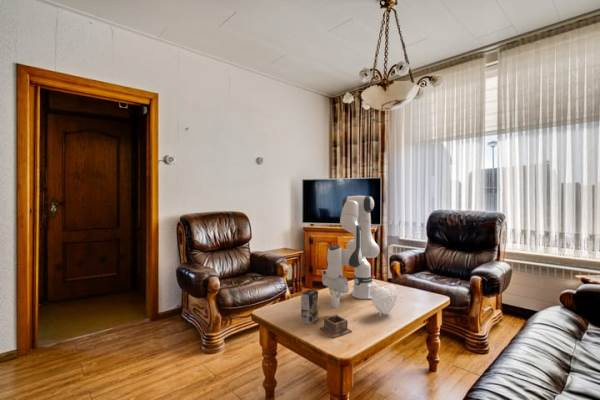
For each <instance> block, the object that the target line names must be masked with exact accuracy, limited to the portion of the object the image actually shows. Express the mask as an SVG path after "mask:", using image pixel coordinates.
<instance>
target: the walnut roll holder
mask: <svg viewBox="0 0 600 400" xmlns="http://www.w3.org/2000/svg"><path fill="white" fill-rule="evenodd" d="M319 330H320V331H322V332H323V333H325V334H327V335H328V336H330V337H331V338H332V339H336V338H340V337H342V336H345V335H348V334H351V333H353V332H352V329H349V328H348V319H346V318H344V317H342V316H340V315H338V314H334V315H331V316H327V317H325V318H323V326H320V327H319Z"/></svg>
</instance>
